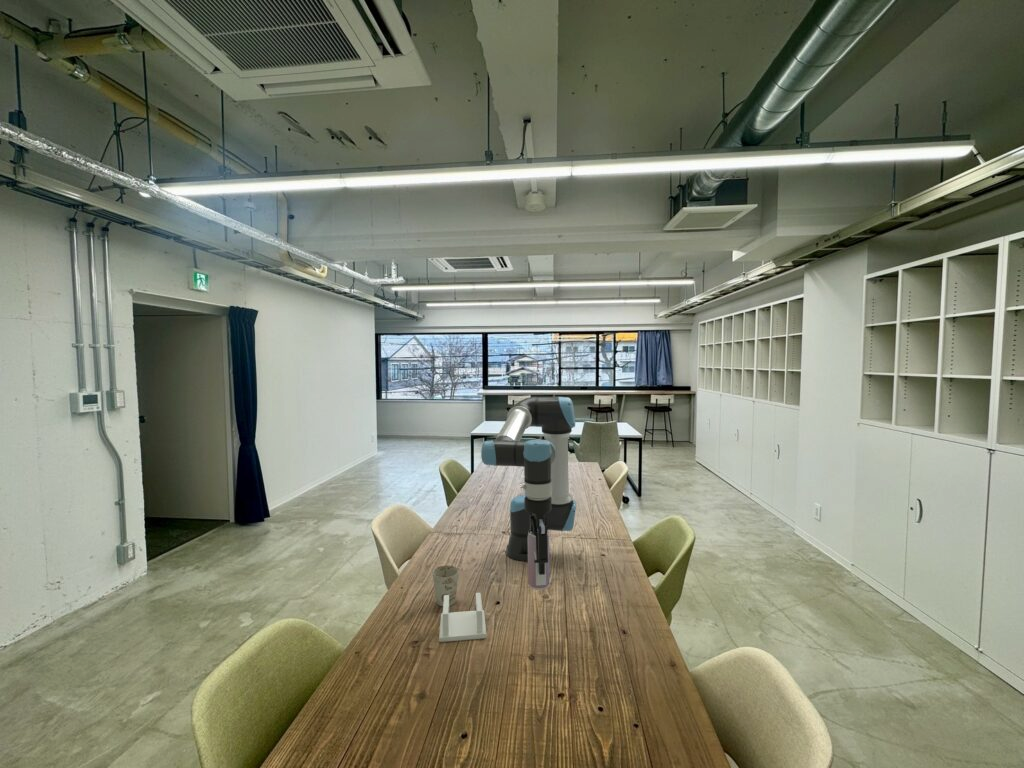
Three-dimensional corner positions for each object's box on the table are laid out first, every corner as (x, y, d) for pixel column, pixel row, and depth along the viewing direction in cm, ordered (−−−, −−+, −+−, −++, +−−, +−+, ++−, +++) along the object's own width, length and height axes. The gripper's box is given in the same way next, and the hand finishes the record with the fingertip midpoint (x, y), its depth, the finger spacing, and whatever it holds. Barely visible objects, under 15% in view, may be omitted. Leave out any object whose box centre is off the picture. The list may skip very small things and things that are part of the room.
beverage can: (547, 579, 121) (547, 527, 121) (550, 590, 115) (550, 535, 115) (527, 580, 121) (526, 528, 120) (529, 591, 115) (528, 536, 115)
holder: (441, 617, 129) (440, 593, 128) (483, 613, 130) (483, 590, 130) (439, 642, 117) (438, 616, 117) (486, 638, 118) (486, 612, 118)
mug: (434, 610, 132) (433, 578, 132) (430, 590, 144) (430, 561, 144) (460, 606, 135) (460, 575, 134) (455, 587, 147) (454, 558, 146)
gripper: (519, 487, 126) (520, 564, 127) (530, 508, 107) (531, 597, 108) (543, 486, 127) (544, 562, 128) (559, 506, 108) (560, 595, 109)
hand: (538, 578), depth 118 cm, fingers closed on beverage can, 6 cm apart
